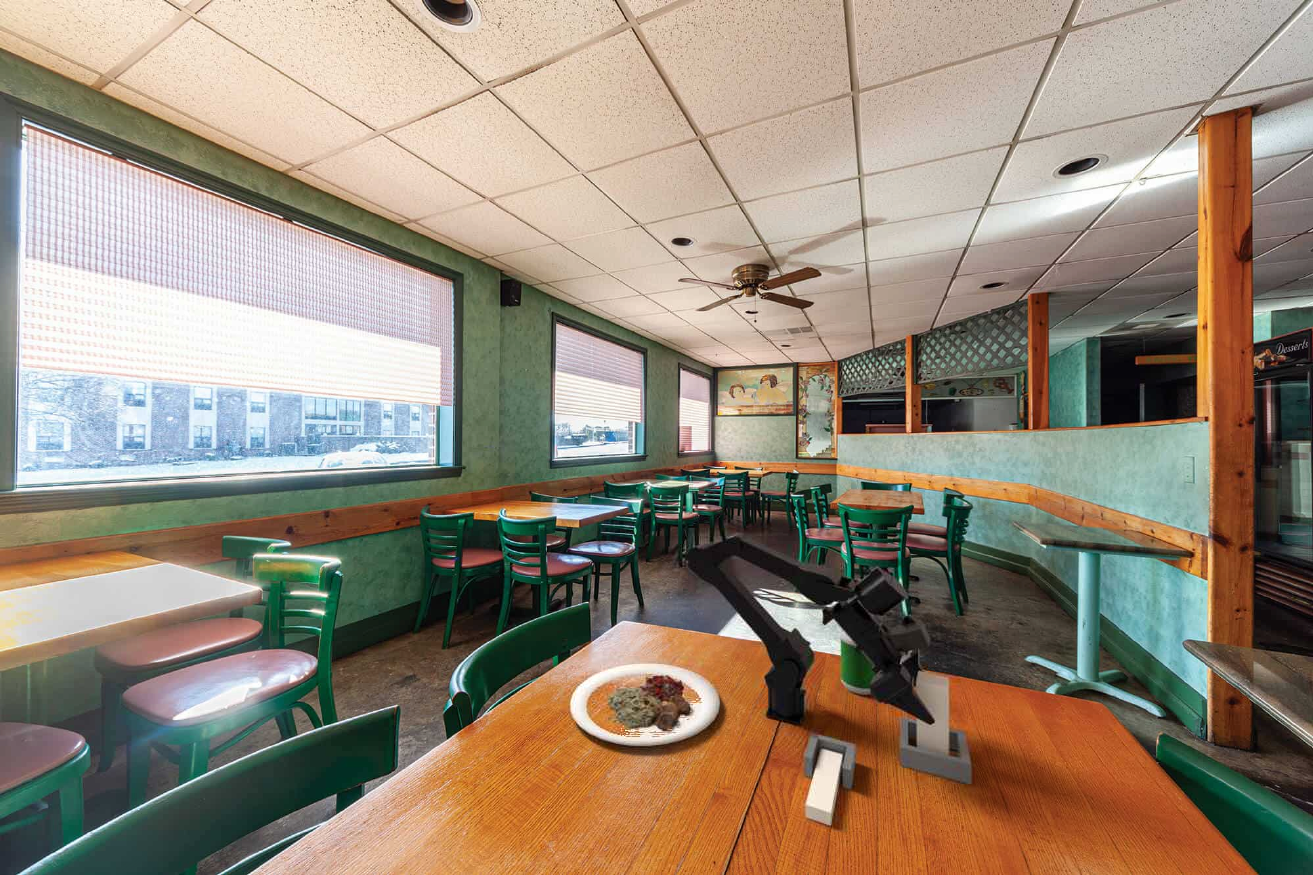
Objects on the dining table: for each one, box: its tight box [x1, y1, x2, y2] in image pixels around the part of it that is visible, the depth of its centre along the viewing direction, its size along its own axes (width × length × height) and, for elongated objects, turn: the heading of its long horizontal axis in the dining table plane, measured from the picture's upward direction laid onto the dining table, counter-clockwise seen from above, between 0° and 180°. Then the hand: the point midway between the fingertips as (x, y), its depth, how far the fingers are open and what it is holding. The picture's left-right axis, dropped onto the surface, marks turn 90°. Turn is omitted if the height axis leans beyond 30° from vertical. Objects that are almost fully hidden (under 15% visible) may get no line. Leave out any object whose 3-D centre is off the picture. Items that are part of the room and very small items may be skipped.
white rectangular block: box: [915, 671, 950, 756], centre depth 81 cm, size 4×4×13 cm
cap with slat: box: [803, 732, 856, 827], centre depth 74 cm, size 7×16×3 cm, turn 153°
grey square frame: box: [899, 716, 973, 786], centre depth 81 cm, size 10×10×3 cm
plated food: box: [569, 663, 721, 747], centre depth 98 cm, size 30×30×3 cm
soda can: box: [840, 630, 879, 696], centre depth 104 cm, size 8×8×12 cm
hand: (934, 709), depth 81 cm, fingers open, 9 cm apart
